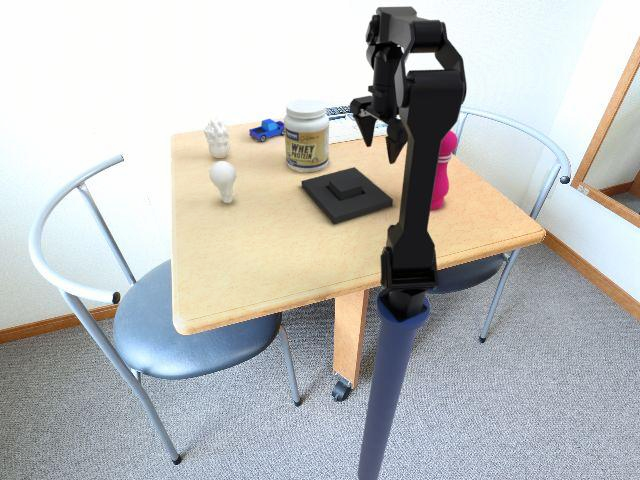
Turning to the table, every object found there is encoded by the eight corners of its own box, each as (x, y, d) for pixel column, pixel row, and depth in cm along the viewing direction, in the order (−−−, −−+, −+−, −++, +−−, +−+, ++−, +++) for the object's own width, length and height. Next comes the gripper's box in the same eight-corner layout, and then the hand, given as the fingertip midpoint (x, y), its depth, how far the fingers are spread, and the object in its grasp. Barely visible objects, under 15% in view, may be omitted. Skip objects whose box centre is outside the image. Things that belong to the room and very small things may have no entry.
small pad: (361, 199, 92) (362, 185, 89) (340, 205, 90) (340, 191, 87) (349, 188, 96) (349, 174, 93) (328, 193, 94) (328, 180, 91)
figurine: (213, 151, 113) (205, 112, 105) (234, 151, 113) (228, 112, 105) (207, 162, 107) (198, 122, 100) (230, 162, 107) (223, 122, 100)
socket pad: (392, 206, 89) (393, 199, 88) (334, 224, 84) (334, 217, 82) (354, 173, 102) (354, 166, 100) (301, 187, 96) (301, 180, 95)
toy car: (290, 134, 122) (289, 119, 118) (259, 144, 116) (257, 129, 113) (279, 128, 126) (278, 113, 122) (248, 137, 120) (246, 122, 117)
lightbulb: (219, 195, 94) (211, 156, 86) (243, 196, 93) (236, 156, 86) (213, 209, 89) (203, 168, 82) (237, 210, 88) (230, 169, 81)
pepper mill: (451, 205, 89) (472, 126, 76) (428, 214, 86) (447, 133, 74) (430, 191, 94) (447, 114, 81) (408, 199, 91) (422, 121, 78)
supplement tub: (281, 171, 103) (275, 111, 92) (293, 152, 112) (290, 95, 101) (323, 176, 100) (323, 115, 89) (332, 156, 109) (333, 98, 99)
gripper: (452, 89, 68) (436, 164, 78) (393, 64, 81) (386, 132, 91) (403, 98, 64) (393, 176, 74) (349, 71, 77) (347, 141, 87)
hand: (379, 154), depth 82 cm, fingers open, 9 cm apart
